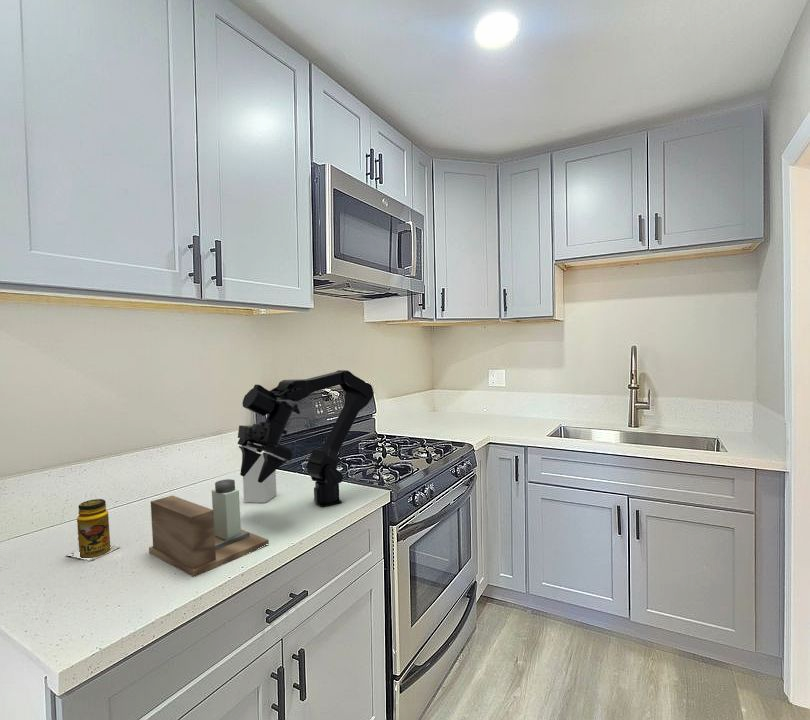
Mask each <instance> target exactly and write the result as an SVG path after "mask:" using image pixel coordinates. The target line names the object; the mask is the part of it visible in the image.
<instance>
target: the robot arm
mask: <svg viewBox="0 0 810 720" xmlns="http://www.w3.org/2000/svg"><path fill="white" fill-rule="evenodd" d="M337 386H339V387H340V388H341V390H342V391H343V392H344V397H343V398H344V404H343V407H342V409H341V411H340V413H339V414H338V417H337V419H336V421H335V423H334V424H333V427H332V429H331V430H330V432H329V434H328V436H327V438H326V440H325V441H324V444H323V445H322V446H321V447H320V448H319V449H318V448H313V449H312V451H311V453H310V455H309V458H308V459H306V462H307V464H306V471H307V474H308V475H309V476H310V478H311V480H312V481H313V482H315V483H314V484H315V487H313V501H314V503H316V504H317V505H318V506H319V507H321V508H322V507H323V508H324V507H327V506H328V507H329V506H333V505H338V504H342V502H343V501H342V500H341V499H340V483H342V482H343V479H344V474H342V472H340V470H338V469H337V468H338V465H339V452H340V450H341V448H342V446H343V444H344V443H345V439H346V438H347V436H348V434H349V432H350V430H351V429H352V426H353V425H354V422H355V420H356V419H357V416H358V414H359V412H360V411H362V410H363V409H364V408H366V406H368V404H369V403H370V402H371V401H372V399H373V397H374V393H375V391H374V388H373V386H372V384H370V383H369V382H366V381H364V380H363V379H361V378H360V377H358V376H356V375H354V373H352V372H351V371H350V370H348V369H347V370H345V369H344V370H343V369H339V370H338V369H337V370H336V371H334V372H333V371H332V372H329V373H325V374H321V375H317V376H314V377H309V378H305V379H302V378H301V379H283V380H280V381H279V382H278V384H277V386H276V387H274V388H272V389H270V390H268V388H265V387H264V386H263V385H261V384H254V386H253V388H251V389H250V390H249V391H248V392H247V393H246V394H245V395H244V397H243V399H242V404H241V405H242V407H243V408H244V409H246V410H248V411H251V412H252V413H255V414H257V415H259V416H261V417H264V416H266V418H265V420H264V421H261V422H259V423H258V424H256V423H253V425H238V432H237V438H238V441H237V445H238V448H239V449H240V451H241V455H242V454H243V457H242V456H241V466H240V473H239V475H240V476H242V477H243V476H245V475H246V474H247V472H248V471H249V470H250V469H251V467H252V466H253V465H254V464H255V462H256V461H257V460H258V458H259V457H260V456H261V454H259V453H261V452H262V451H266V452H269V454H267V453H263V456H264V463H263V466H262V469H261V472H260V475H259V478H258V482H260V483H262V482H263V481H264V480H265V479H266V478H267V477H269V476H270V475H271V474H272V473H273V472H274V471H275V470H276V471H277V470H278V469H279V468H280V467H281V466H283V464H286V463H287V461H288V462H290V461H291V459H292V457H293V456H294V455H293V453H294V452H293V450H292V449H291V448H289V447H287V446H284V445H282V444H280V441H281V439H282V437H283V435H287V434H288V431H287V430H286V428H287V426H288V423H289V421H290V419H291V417H292V414H295V415H300V414H301V411H300V409H299V407H298V404H297V403H296V404H295V402H300V401H302V400H304V399H306V398H308V397H309V396H310V395H311V394H313V393H315V392H319V391H323V390H326V389H329V388H333V387H337ZM278 400H281V401H278ZM287 401H289V402H294V403H292V404H291V403H288V402H287ZM256 452H259V453H256Z"/></svg>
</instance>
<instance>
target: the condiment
mask: <svg viewBox="0 0 810 720" xmlns="http://www.w3.org/2000/svg"><path fill="white" fill-rule="evenodd" d="M106 503H107V502H106V500H105V499H103V498H96V499H90V500H89V499H88V500H86V501H83V502H80V504H78V516H77V519H76V522H77V523H76V524H77V535H78V536H77V539H78V550H79V552H80V557H81V558H92V559H90V560H87V559H85V560H84V561H87V562H90V561H93V560H96V559H99V558H101V557H103V556H105V555H107V554H109V553H111V552H113V551H115V550H117V549H119V548H120V546H116V545H111V537H110V535H111V534H110V519H109V511H108V510H107V506H106V505H107V504H106ZM111 546H112V547H111ZM110 547H111V548H110ZM72 556H74V555H72ZM72 556H71V557H70V558H74V559H77V557H72Z"/></svg>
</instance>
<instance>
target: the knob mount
mask: <svg viewBox="0 0 810 720" xmlns="http://www.w3.org/2000/svg"><path fill="white" fill-rule="evenodd" d="M150 518H151V532H152V534H151V535H152V546H149V547H148V553H149V554H151V555H153V556H155V557H156V558H158V559H160V560H162V561H164V562H165V563H167V564H169V565H171V566H174V568H177V569H178V568H179V570H181V571H182V572H184V573H186V574H187V573H188V574H187V575H189V574H190V576H191V575H192V577H193V576H195V577H197V576H199V574H200V575H201V573H202V574H204V573H206V571H207V572H209V571H211V570H213V568H214V569H215V568H218V567H221V566H222V564H223V565H225V564H227V562H228V563H230V562H232V561H235V560H237V559H239V558H241V557H243V555H244V556H246V555H248V554H250V553H249V552H251V551H253V550H255V551H257V550H256V549H258V548H260V547H262V546H264V545H266V544H269V545H270V540H269V539H268V538H265V537H262V536H260V535H257V534H255V533H252V532H250V531H247V530H244V529H242V528H241V535H238V536H235V537H233V538H230V539H228V540H224V539H222V538H220V537H217V536H215V531H214V511H213V508H212V509H211V508H208V507H206V506H203V505H200V504H197V503H195V502H191V501H189V500H186V499H183V498H180V497H178V496H175V495H173V494H172V495H169V496H166V497H162V498H158V499H155V500H151V501H150ZM262 548H263V547H262ZM260 549H261V548H260ZM258 550H259V549H258ZM253 552H254V551H253ZM247 553H248V554H247ZM251 553H252V552H251ZM245 554H246V555H245ZM236 558H237V559H236ZM234 559H235V560H234ZM220 565H221V566H220ZM196 575H197V576H196Z"/></svg>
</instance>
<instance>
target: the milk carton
mask: <svg viewBox="0 0 810 720" xmlns="http://www.w3.org/2000/svg"><path fill="white" fill-rule="evenodd" d="M256 453H259V452H256ZM263 453H267V454H269V452H266V451H262V452H261V453H259V454H261V456H260V457H259V458H258V460H257V461H256V462H255V464H254V465H253V466H252V467H251V469H250V470H249V471H248V472H247V474H246V475H245V476H242V484H243V485H242V486H243V487H242V490H243V501H244V503H259V504H266V503H268V502H269V501H270V500H272V499H273V498H274V497H276V496H277V495H278V494H277V476H276V475H277V473H276V471H277V469H276V470H275V471H274V472H273V473H272V474H271V475H270V476H269V477H267V478H266V479H265V480H264V481H263V482H262V483H260V482H258V478H259V475H260V472H261V469H262V466H263V463H264V456H263ZM242 457H243V454H242V453H241V458H242Z"/></svg>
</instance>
